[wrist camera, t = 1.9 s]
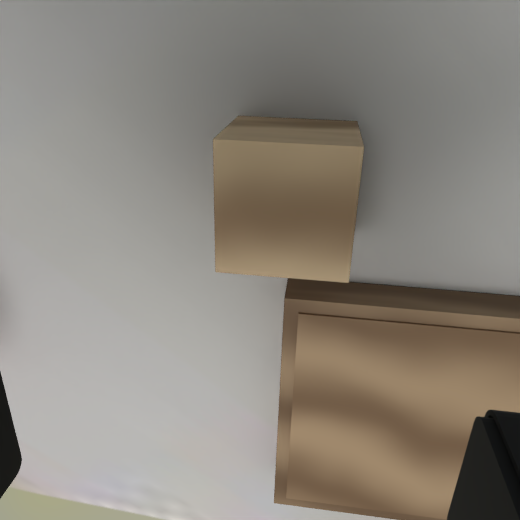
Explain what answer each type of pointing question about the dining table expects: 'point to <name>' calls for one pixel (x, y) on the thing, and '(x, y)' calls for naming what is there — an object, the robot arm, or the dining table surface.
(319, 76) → the dining table surface
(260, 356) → the dining table surface
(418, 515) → the oak board
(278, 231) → the tan cube
